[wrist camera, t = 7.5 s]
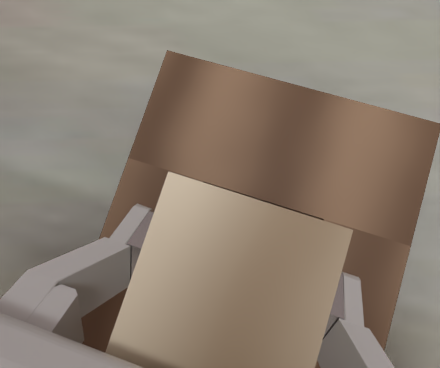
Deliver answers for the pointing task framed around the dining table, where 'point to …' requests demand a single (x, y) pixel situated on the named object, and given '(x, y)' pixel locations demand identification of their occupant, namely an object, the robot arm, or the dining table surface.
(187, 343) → the maple block
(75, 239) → the dining table surface
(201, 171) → the puzzle board
